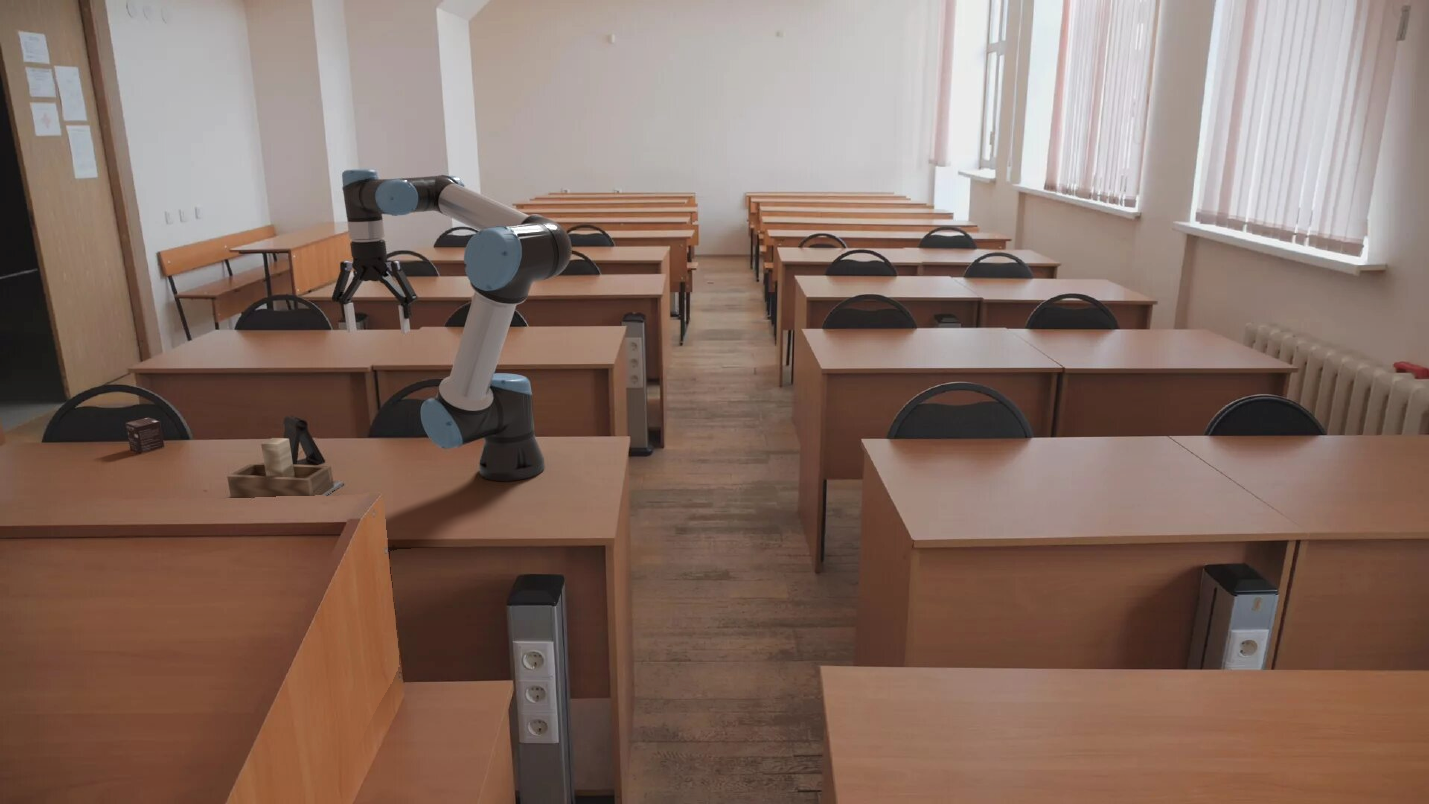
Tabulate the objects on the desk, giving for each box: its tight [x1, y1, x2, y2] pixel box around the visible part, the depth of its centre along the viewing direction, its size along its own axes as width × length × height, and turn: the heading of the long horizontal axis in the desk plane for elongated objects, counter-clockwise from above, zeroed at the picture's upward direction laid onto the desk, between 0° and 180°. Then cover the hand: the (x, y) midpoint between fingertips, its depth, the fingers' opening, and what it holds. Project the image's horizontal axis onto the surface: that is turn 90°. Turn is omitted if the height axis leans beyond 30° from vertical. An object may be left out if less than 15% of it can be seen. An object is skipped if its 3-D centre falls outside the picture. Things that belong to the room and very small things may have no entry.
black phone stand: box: [282, 414, 326, 466], centre depth 227 cm, size 9×6×12 cm, turn 138°
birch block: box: [260, 437, 295, 478], centre depth 207 cm, size 4×4×12 cm
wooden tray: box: [226, 462, 345, 498], centre depth 208 cm, size 20×16×6 cm
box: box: [125, 416, 165, 454], centre depth 242 cm, size 6×6×7 cm
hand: (378, 332), depth 218 cm, fingers open, 13 cm apart
